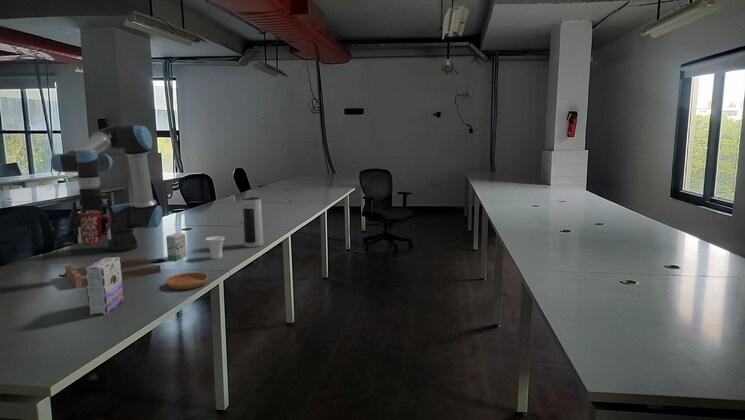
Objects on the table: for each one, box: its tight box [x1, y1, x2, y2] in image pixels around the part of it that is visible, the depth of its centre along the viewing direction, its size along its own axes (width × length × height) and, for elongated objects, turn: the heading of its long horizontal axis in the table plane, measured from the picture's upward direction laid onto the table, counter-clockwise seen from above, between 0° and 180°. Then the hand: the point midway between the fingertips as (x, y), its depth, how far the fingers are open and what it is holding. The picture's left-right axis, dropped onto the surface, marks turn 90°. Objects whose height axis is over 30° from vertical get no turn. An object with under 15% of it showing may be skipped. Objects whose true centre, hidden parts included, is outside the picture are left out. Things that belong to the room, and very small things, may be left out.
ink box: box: [165, 232, 188, 262], centre depth 232 cm, size 8×5×12 cm, turn 167°
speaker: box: [240, 196, 264, 248], centre depth 257 cm, size 11×10×26 cm
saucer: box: [165, 272, 209, 291], centre depth 191 cm, size 16×16×3 cm
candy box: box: [85, 256, 125, 316], centre depth 165 cm, size 14×6×16 cm, turn 5°
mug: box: [76, 210, 111, 246], centre depth 198 cm, size 13×9×14 cm
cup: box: [204, 235, 225, 260], centre depth 233 cm, size 9×9×10 cm
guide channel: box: [64, 256, 161, 289], centre depth 205 cm, size 20×32×5 cm, turn 132°
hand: (95, 240), depth 199 cm, fingers closed on mug, 10 cm apart
